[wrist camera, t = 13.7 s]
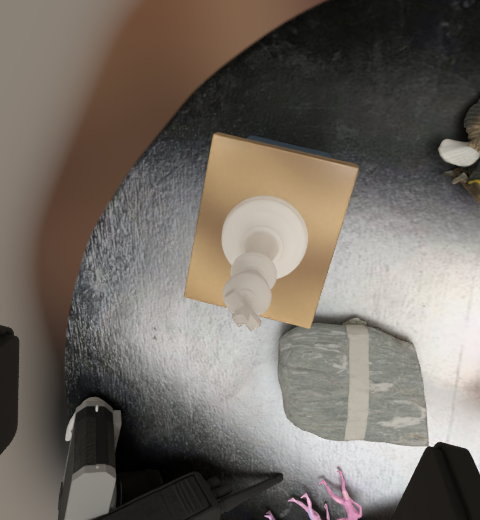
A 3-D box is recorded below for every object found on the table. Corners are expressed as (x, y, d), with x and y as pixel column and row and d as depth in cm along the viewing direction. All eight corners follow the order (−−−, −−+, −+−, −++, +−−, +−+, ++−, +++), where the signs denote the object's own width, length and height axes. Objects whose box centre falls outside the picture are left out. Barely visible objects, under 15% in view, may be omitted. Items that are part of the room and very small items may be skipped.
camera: (182, 465, 42) (168, 390, 50) (68, 469, 38) (73, 388, 46) (146, 581, 48) (138, 497, 57) (45, 595, 45) (53, 503, 53)
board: (217, 131, 25) (212, 133, 24) (357, 164, 25) (359, 167, 24) (188, 289, 29) (183, 297, 28) (310, 320, 28) (310, 329, 27)
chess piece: (255, 292, 27) (227, 397, 18) (205, 227, 26) (147, 301, 17) (325, 248, 25) (335, 338, 16) (274, 177, 24) (254, 228, 15)
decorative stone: (278, 401, 45) (275, 444, 39) (280, 309, 42) (276, 342, 36) (414, 410, 43) (430, 456, 38) (427, 316, 40) (447, 351, 34)
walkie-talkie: (77, 515, 43) (253, 441, 53) (92, 587, 41) (271, 496, 51) (85, 523, 38) (278, 439, 48) (103, 605, 36) (299, 500, 46)
